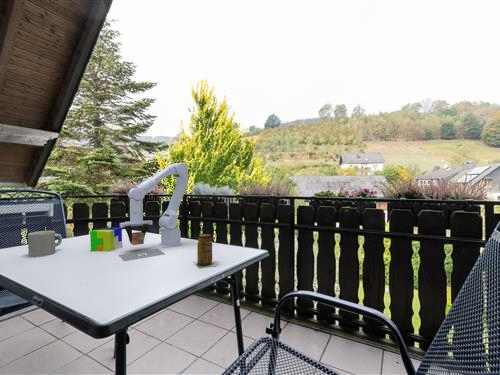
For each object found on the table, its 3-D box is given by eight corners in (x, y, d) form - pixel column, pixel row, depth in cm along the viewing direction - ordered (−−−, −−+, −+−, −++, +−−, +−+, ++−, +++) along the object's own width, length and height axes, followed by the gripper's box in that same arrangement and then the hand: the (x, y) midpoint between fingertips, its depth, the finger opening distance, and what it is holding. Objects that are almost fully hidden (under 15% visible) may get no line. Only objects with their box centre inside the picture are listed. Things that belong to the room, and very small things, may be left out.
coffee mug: (32, 258, 119) (31, 235, 119) (25, 254, 125) (25, 233, 125) (67, 251, 130) (66, 231, 129) (59, 248, 136) (58, 228, 135)
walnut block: (140, 241, 134) (140, 231, 134) (143, 243, 130) (143, 233, 130) (130, 243, 131) (130, 233, 131) (132, 245, 127) (132, 234, 127)
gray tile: (157, 249, 134) (157, 248, 134) (166, 254, 124) (166, 254, 124) (118, 255, 123) (118, 254, 123) (124, 262, 114) (124, 261, 114)
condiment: (210, 260, 116) (210, 232, 116) (216, 266, 109) (216, 236, 108) (193, 262, 113) (193, 234, 113) (199, 268, 105) (198, 238, 105)
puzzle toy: (122, 247, 139) (121, 227, 139) (110, 252, 129) (109, 231, 129) (103, 246, 140) (103, 227, 140) (90, 251, 130) (90, 231, 130)
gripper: (122, 214, 123) (122, 244, 123) (154, 212, 131) (154, 240, 132) (118, 213, 128) (119, 241, 129) (149, 211, 137) (150, 237, 138)
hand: (136, 240), depth 131 cm, fingers closed on walnut block, 5 cm apart
